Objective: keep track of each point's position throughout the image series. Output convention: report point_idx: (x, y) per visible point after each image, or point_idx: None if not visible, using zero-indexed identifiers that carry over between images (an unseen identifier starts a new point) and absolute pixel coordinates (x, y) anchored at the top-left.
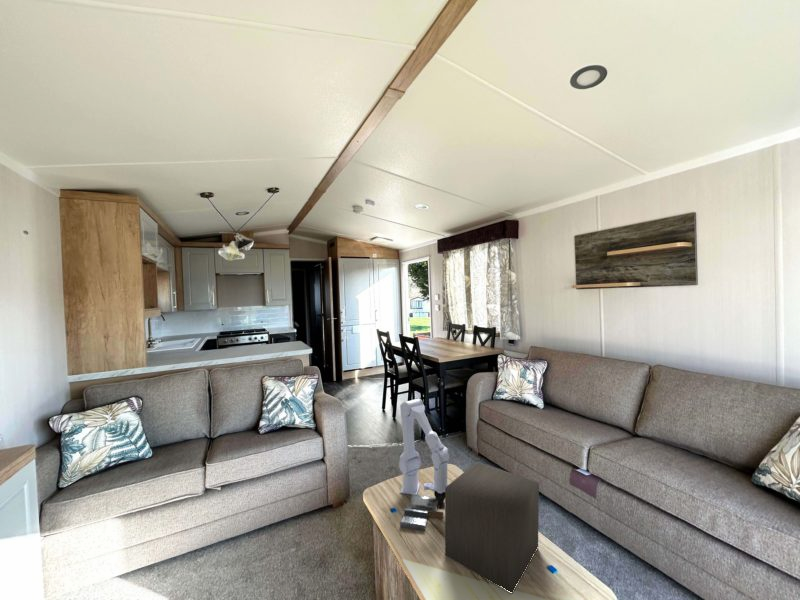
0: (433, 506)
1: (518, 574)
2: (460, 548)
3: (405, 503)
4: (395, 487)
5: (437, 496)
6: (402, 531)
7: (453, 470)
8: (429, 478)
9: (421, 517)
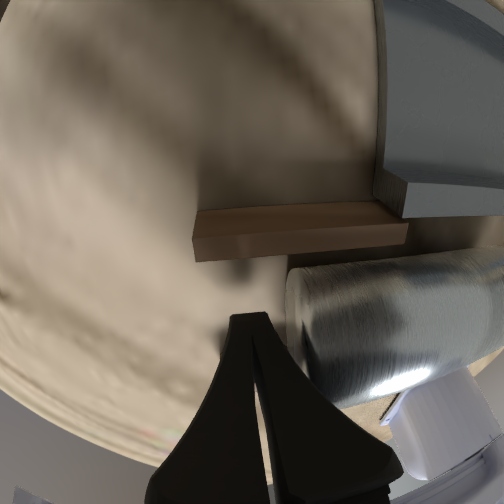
0: (347, 297)
1: None
2: None
3: None
4: (478, 362)
5: (334, 462)
6: (500, 6)
7: None
8: None
9: (434, 147)
